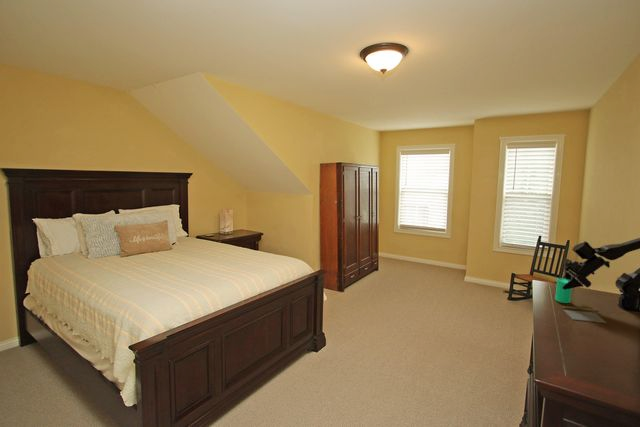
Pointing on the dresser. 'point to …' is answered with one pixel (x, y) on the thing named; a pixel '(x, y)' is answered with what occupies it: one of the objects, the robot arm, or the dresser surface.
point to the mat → (584, 316)
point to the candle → (563, 291)
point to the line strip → (579, 308)
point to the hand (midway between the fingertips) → (561, 286)
